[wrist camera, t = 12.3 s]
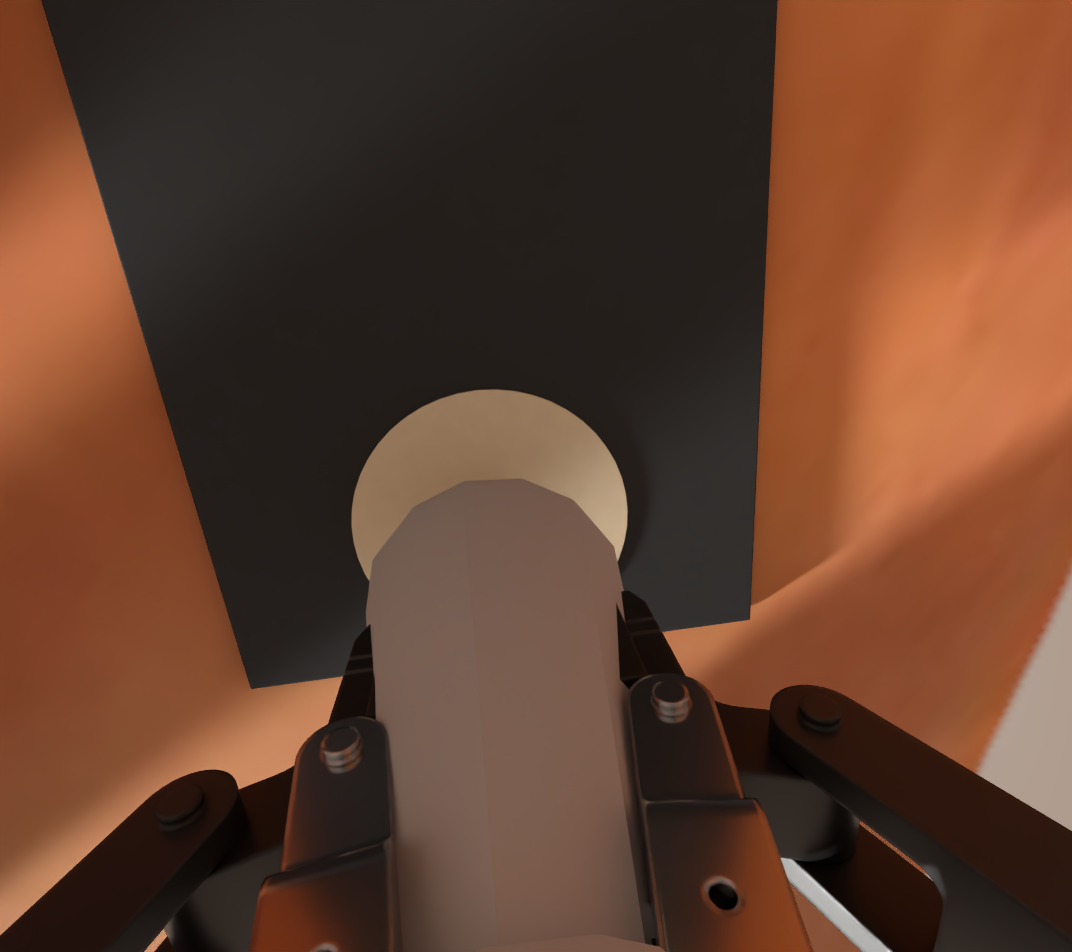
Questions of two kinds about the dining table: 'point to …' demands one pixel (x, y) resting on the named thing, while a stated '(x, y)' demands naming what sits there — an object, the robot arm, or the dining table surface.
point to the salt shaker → (507, 726)
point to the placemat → (440, 277)
